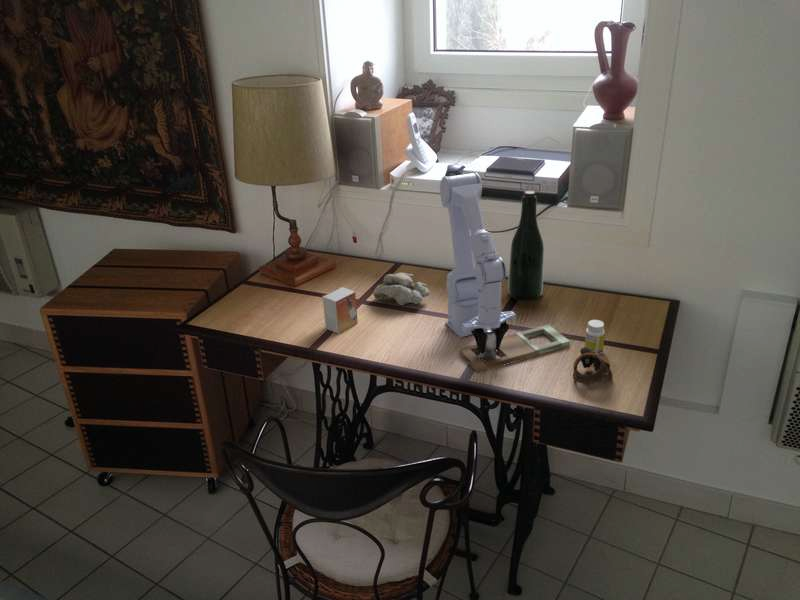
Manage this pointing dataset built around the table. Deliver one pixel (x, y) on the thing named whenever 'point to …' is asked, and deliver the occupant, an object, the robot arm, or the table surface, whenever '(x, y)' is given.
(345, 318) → the small box
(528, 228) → the dark green wine bottle
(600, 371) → the pottery mug
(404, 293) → the mineral
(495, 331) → the peg
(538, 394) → the table surface
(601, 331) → the supplement bottle
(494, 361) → the board with square holes
